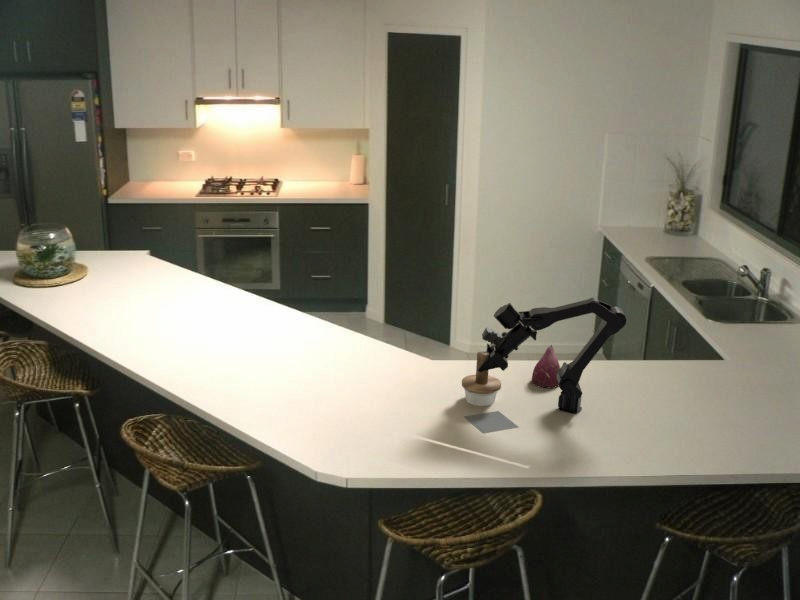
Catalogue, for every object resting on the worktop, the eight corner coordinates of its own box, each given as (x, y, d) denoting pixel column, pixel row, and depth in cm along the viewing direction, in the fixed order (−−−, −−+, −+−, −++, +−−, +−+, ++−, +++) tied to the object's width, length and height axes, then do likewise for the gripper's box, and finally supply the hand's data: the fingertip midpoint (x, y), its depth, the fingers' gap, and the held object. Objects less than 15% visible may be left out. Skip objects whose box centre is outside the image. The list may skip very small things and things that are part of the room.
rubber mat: (498, 412, 330) (498, 410, 330) (518, 428, 319) (518, 427, 319) (463, 418, 325) (463, 416, 324) (482, 435, 313) (483, 433, 313)
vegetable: (538, 384, 363) (540, 342, 362) (565, 387, 357) (567, 345, 357) (526, 386, 354) (528, 343, 353) (553, 389, 348) (556, 346, 348)
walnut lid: (509, 388, 331) (511, 356, 327) (478, 396, 323) (480, 364, 320) (483, 375, 340) (485, 344, 337) (453, 382, 333) (455, 351, 330)
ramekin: (497, 396, 343) (498, 382, 341) (496, 410, 332) (497, 395, 330) (464, 393, 344) (465, 379, 342) (462, 407, 333) (463, 392, 331)
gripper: (495, 311, 334) (460, 341, 337) (499, 330, 316) (462, 362, 319) (517, 334, 336) (482, 364, 340) (523, 355, 318) (486, 386, 322)
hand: (478, 368), depth 330 cm, fingers closed on walnut lid, 4 cm apart
